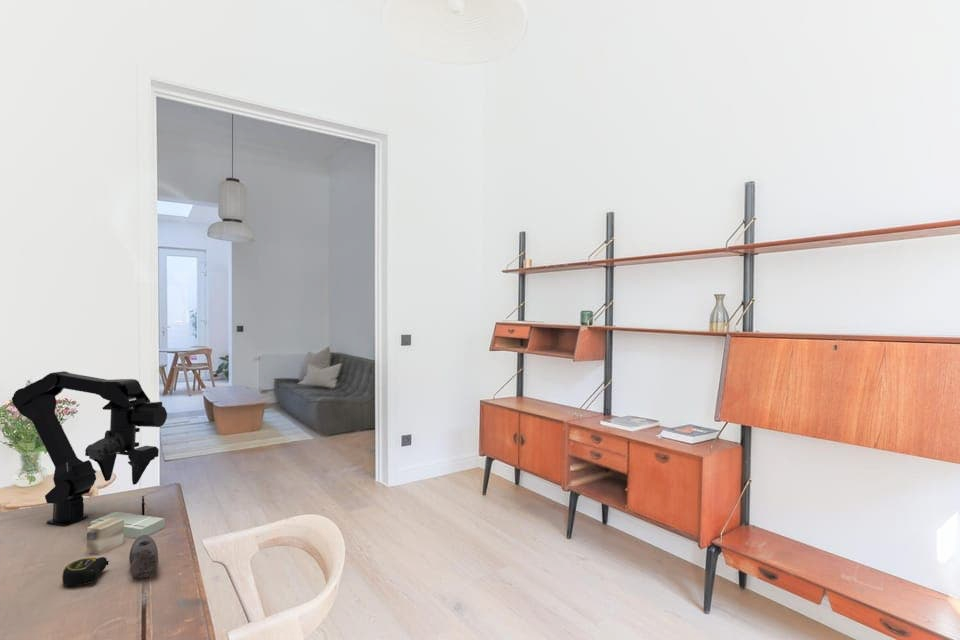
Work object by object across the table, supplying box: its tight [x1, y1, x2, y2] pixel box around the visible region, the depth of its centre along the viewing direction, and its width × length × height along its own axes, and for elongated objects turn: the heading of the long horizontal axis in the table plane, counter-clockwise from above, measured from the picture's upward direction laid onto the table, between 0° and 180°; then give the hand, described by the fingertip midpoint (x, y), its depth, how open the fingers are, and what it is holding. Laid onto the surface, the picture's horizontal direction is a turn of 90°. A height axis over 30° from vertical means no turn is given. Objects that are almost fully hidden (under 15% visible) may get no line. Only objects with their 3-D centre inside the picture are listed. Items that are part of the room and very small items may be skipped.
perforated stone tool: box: [128, 535, 159, 579], centre depth 110 cm, size 15×5×7 cm, turn 36°
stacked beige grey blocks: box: [85, 518, 125, 555], centre depth 119 cm, size 4×8×6 cm, turn 168°
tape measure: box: [61, 556, 110, 587], centre depth 104 cm, size 7×7×4 cm
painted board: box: [90, 511, 165, 539], centre depth 129 cm, size 16×7×3 cm, turn 78°
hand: (121, 482), depth 133 cm, fingers open, 9 cm apart
